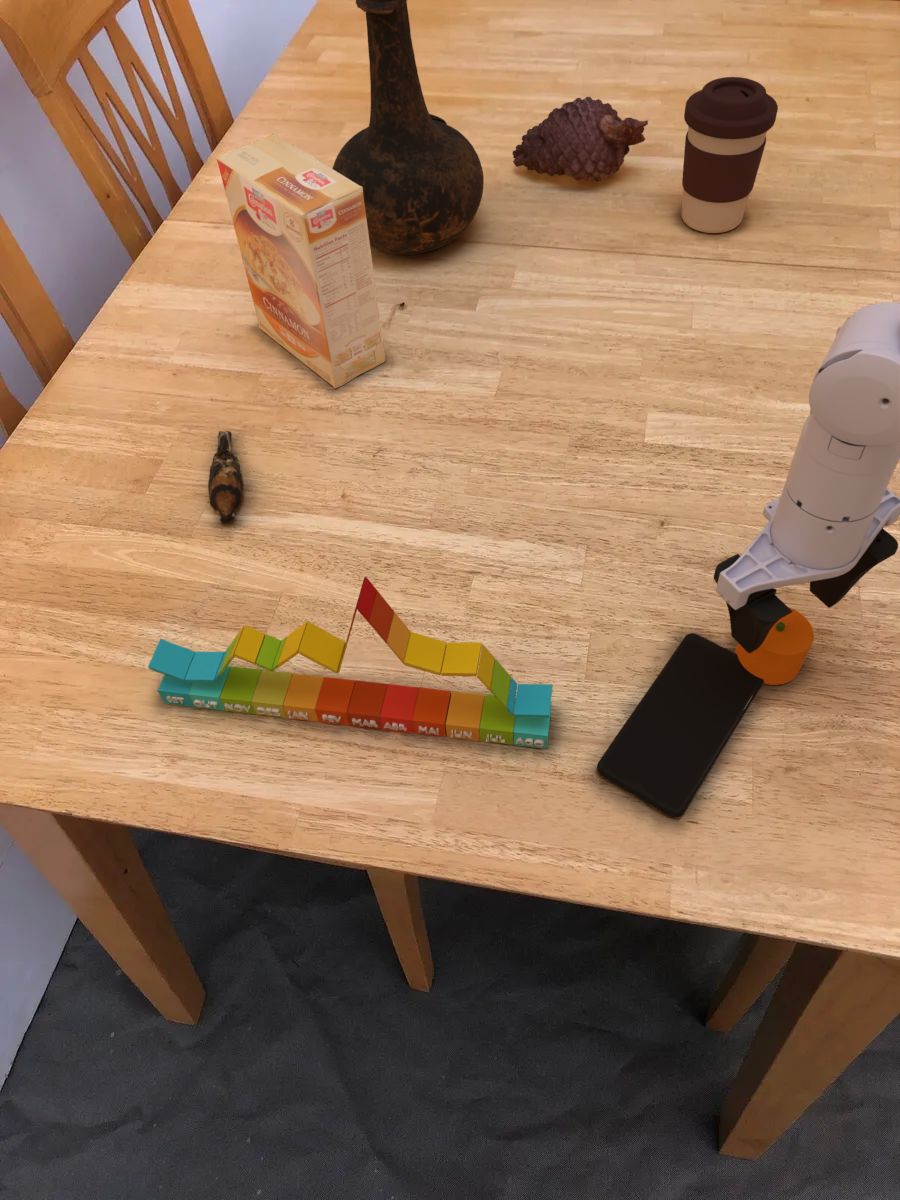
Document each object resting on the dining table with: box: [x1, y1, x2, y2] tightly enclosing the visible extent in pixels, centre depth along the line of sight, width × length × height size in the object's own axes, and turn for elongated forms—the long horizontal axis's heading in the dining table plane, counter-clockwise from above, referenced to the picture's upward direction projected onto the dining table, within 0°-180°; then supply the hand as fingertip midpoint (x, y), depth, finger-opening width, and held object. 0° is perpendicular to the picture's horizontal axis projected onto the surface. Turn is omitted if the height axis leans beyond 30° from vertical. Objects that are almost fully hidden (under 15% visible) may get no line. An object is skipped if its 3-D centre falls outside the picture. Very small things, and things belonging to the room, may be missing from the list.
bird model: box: [207, 430, 244, 524], centre depth 87 cm, size 3×13×3 cm, turn 6°
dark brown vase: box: [332, 0, 485, 256], centre depth 103 cm, size 18×18×28 cm
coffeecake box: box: [215, 133, 386, 389], centre depth 93 cm, size 15×7×20 cm, turn 40°
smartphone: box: [596, 632, 764, 819], centre depth 69 cm, size 7×1×15 cm
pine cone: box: [511, 96, 649, 183], centre depth 118 cm, size 18×10×10 cm
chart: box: [147, 575, 554, 750], centre depth 66 cm, size 30×3×15 cm, turn 81°
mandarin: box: [734, 606, 815, 686], centre depth 71 cm, size 5×5×4 cm
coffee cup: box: [681, 76, 779, 234], centre depth 107 cm, size 10×10×15 cm
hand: (783, 619), depth 68 cm, fingers open, 7 cm apart
